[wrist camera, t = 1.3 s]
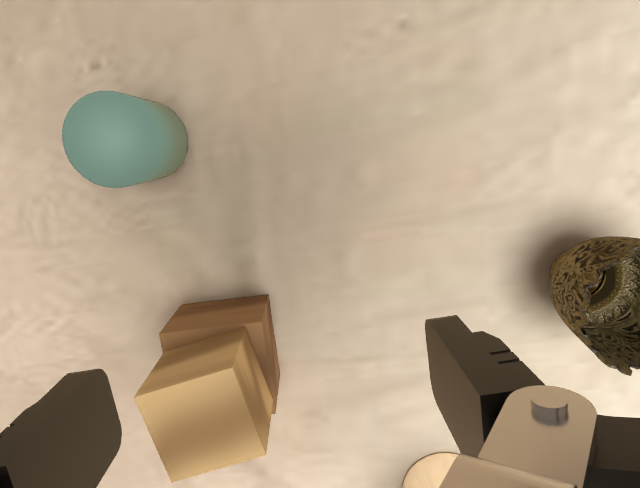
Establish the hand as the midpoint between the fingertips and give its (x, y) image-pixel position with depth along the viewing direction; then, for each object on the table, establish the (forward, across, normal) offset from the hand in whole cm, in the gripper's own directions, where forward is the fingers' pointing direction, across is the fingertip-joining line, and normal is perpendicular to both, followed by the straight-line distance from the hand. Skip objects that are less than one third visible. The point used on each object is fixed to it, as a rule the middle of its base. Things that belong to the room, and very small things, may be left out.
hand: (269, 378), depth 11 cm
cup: (+20, -19, +6) cm, 28 cm away
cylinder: (+20, +8, -7) cm, 23 cm away
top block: (+15, +5, +7) cm, 17 cm away
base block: (+20, +6, +7) cm, 22 cm away
